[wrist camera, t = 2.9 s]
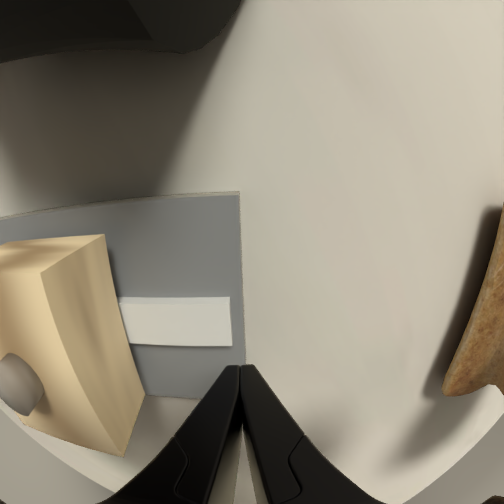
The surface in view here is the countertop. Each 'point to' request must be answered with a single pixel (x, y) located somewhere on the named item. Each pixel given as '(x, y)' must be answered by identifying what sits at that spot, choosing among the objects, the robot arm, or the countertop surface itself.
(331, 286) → the countertop surface
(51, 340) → the block
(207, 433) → the robot arm
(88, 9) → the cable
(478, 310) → the stone cup
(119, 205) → the track
